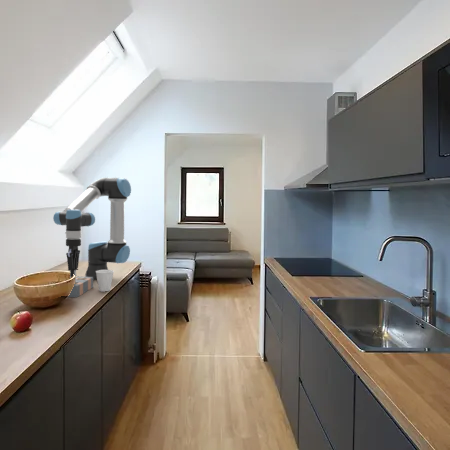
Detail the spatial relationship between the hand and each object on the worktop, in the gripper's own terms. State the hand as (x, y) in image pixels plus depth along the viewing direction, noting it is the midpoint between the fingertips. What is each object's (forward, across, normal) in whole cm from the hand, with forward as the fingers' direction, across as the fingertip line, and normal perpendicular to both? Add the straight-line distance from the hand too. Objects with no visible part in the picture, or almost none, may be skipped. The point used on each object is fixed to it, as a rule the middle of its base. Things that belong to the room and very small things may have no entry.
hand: (73, 282), depth 216 cm
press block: (+7, -6, 0) cm, 9 cm away
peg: (+6, -12, 0) cm, 14 cm away
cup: (+7, -11, +14) cm, 19 cm away
